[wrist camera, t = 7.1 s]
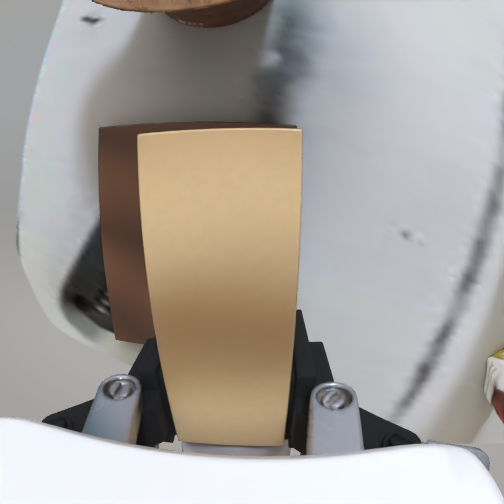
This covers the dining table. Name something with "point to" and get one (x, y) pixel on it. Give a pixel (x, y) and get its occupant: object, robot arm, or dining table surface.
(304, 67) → the dining table surface
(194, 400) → the wood and marble capsule
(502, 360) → the juice carton
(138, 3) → the pitcher
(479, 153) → the dining table surface
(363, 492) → the robot arm
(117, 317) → the chopping board
